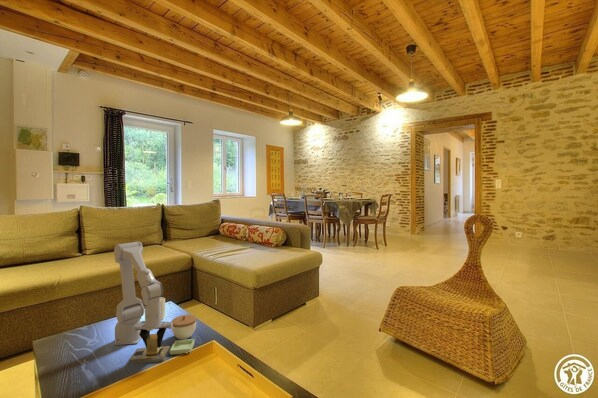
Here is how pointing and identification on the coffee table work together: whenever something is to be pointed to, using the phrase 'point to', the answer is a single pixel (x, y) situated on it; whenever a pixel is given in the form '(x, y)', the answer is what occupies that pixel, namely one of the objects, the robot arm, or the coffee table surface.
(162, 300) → the white cup
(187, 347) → the parts tray
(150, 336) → the upright wooden block
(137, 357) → the grey rectangular frame
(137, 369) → the coffee table surface
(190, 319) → the lidded jar
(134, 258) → the robot arm
